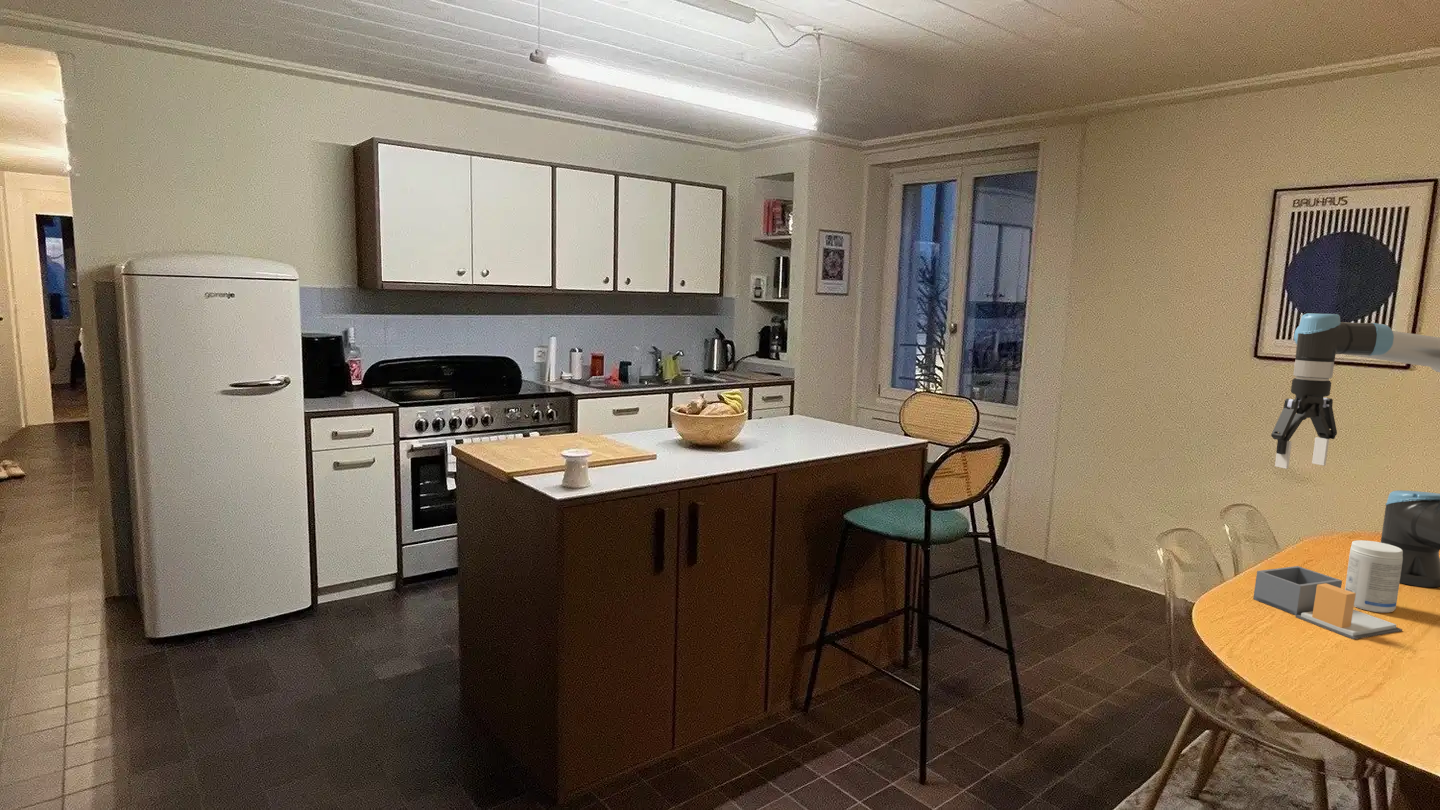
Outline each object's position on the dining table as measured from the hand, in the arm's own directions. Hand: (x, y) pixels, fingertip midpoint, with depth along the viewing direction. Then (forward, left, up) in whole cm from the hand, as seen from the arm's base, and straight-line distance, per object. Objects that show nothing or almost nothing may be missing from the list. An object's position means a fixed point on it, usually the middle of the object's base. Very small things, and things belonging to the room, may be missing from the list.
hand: (1300, 466), depth 191 cm
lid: (+7, +19, -31) cm, 37 cm away
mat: (+7, +19, -31) cm, 37 cm away
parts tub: (+7, +8, -31) cm, 33 cm away
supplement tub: (-10, +13, -31) cm, 35 cm away
